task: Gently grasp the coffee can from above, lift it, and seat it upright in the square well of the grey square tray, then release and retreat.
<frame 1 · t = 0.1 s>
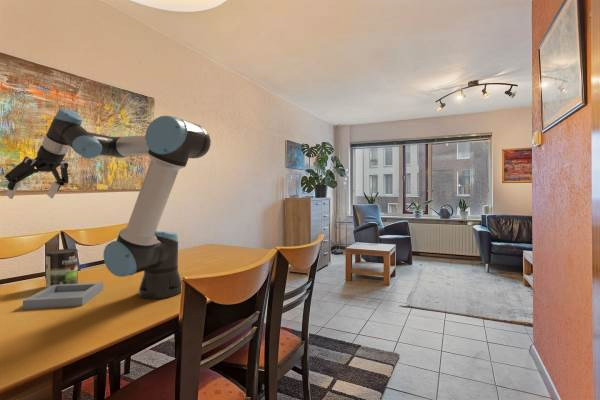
hand: (30, 196, 118), 36 cm above the table, tool tilted 35°, fingers open, 13 cm apart
grey square tray: (66, 298, 110), on the table
coffee can: (62, 286, 124), on the table
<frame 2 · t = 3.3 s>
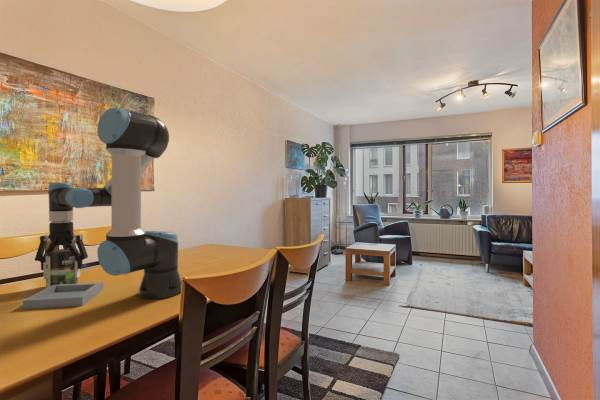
hand: (62, 277, 124), 3 cm above the table, tool pointing down, fingers closed on coffee can, 10 cm apart
coffee can: (62, 286, 124), on the table, touching gripper
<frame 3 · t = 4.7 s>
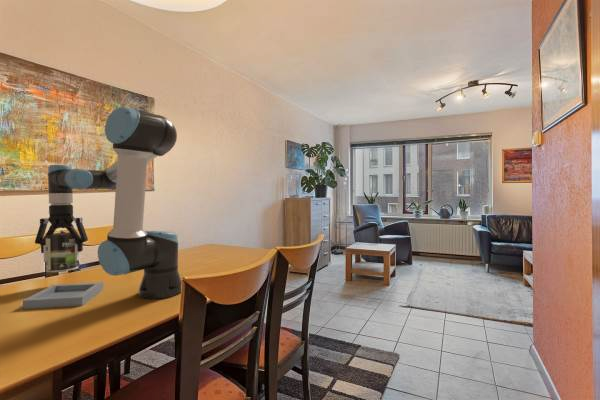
hand: (62, 260, 124), 10 cm above the table, tool pointing down, fingers closed on coffee can, 10 cm apart
coffee can: (62, 269, 124), point 7 cm above the table, touching gripper
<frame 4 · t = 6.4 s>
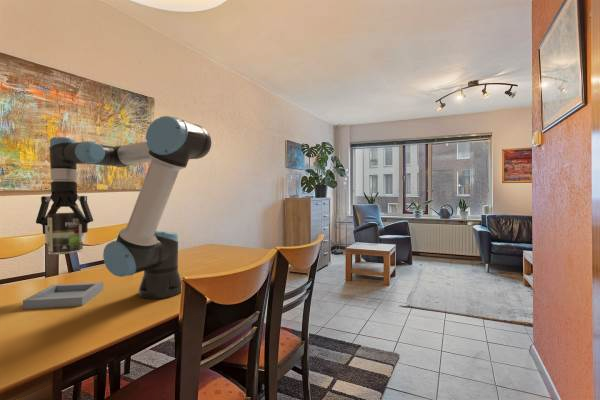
hand: (65, 242, 113), 19 cm above the table, tool pointing down, fingers closed on coffee can, 10 cm apart
coffee can: (66, 252, 113), point 16 cm above the table, touching gripper
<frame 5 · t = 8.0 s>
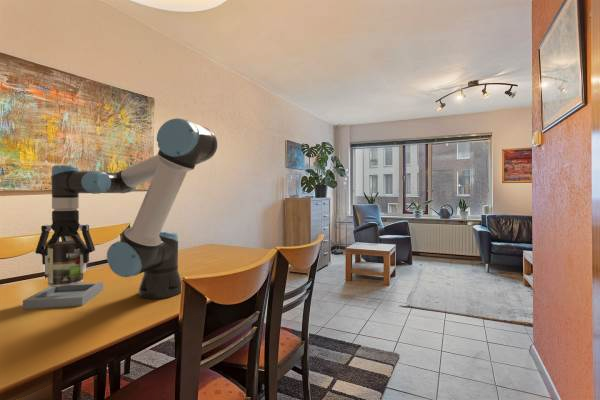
hand: (66, 272, 110), 9 cm above the table, tool pointing down, fingers closed on coffee can, 10 cm apart
coffee can: (66, 283, 110), point 5 cm above the table, touching gripper
when the fingers open (5 cm above the table, at t = 9.3 s): coffee can drops 1 cm, resting on grey square tray.
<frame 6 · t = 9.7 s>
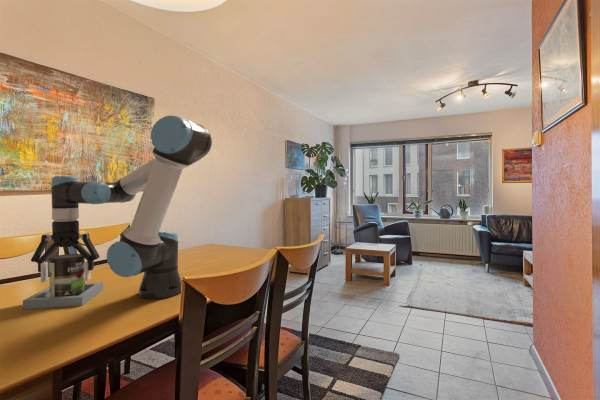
hand: (66, 280, 110), 6 cm above the table, tool pointing down, fingers open, 13 cm apart
coffee can: (67, 296, 110), point 1 cm above the table, touching grey square tray
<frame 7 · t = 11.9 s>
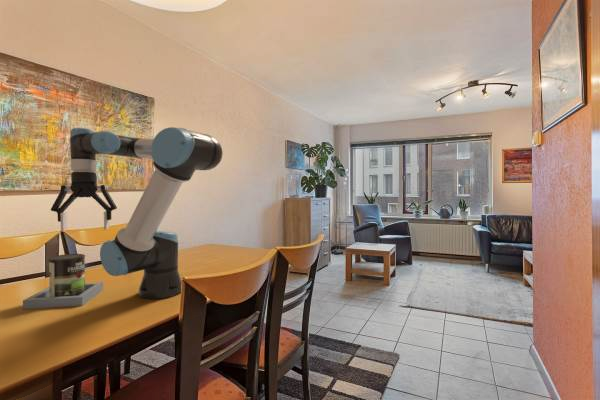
hand: (85, 230, 114), 24 cm above the table, tool pointing down, fingers open, 13 cm apart
nothing on the table moved.
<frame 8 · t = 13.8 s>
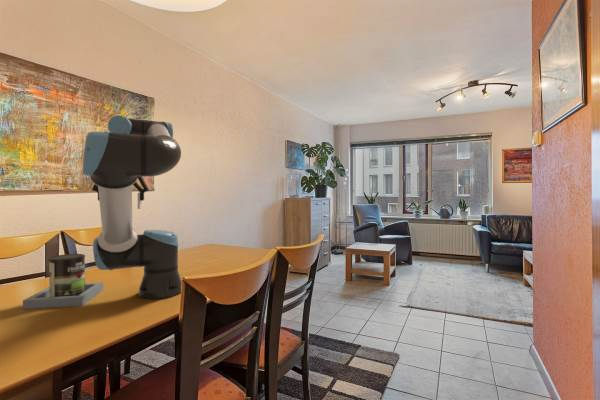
hand: (121, 208, 127), 31 cm above the table, tool pointing down, fingers open, 13 cm apart
nothing on the table moved.
at the end: coffee can 0.3 cm off-centre on the grey square tray, point 0.6 cm above the grey square tray's base; coffee can tilted 0°; the gripper is holding nothing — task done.
